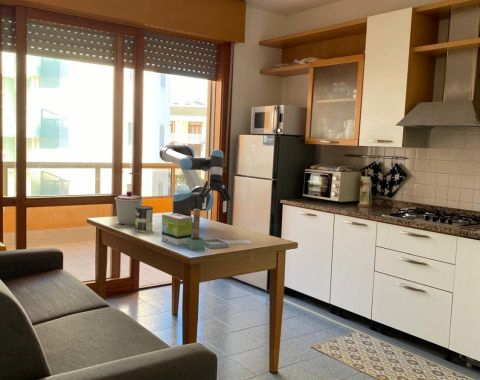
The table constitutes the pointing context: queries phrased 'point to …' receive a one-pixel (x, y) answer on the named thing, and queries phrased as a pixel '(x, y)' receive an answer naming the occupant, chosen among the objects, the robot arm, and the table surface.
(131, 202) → the canister
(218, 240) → the tray
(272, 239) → the table surface
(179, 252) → the table surface
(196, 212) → the dowel
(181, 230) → the tea box
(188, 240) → the cup
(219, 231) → the table surface
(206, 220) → the table surface
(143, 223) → the coffee can
